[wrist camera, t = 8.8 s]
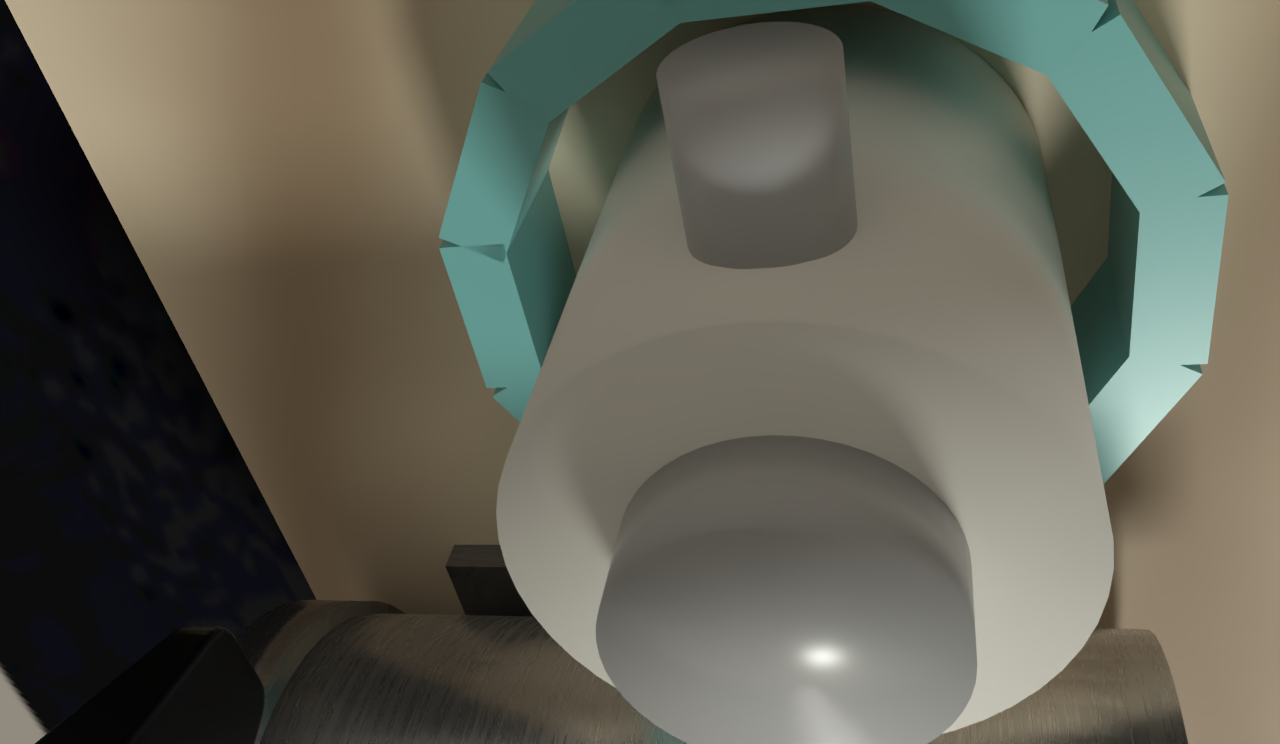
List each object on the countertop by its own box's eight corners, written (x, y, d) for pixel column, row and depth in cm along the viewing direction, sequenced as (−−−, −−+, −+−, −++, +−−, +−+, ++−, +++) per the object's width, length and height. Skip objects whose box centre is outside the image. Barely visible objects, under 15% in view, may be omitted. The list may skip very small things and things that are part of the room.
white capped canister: (1056, -161, 12) (1181, 197, 6) (1040, 363, 16) (1112, 859, 10) (557, -91, 13) (311, 254, 8) (659, 378, 17) (544, 823, 12)
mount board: (1656, -329, 11) (1713, -310, 10) (1347, 762, 21) (1363, 813, 20) (28, -71, 15) (-18, -43, 15) (415, 720, 26) (400, 760, 25)
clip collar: (1222, -201, 11) (1270, -141, 10) (1158, 455, 16) (1183, 564, 15) (414, -82, 13) (348, -17, 12) (576, 464, 18) (544, 559, 17)
